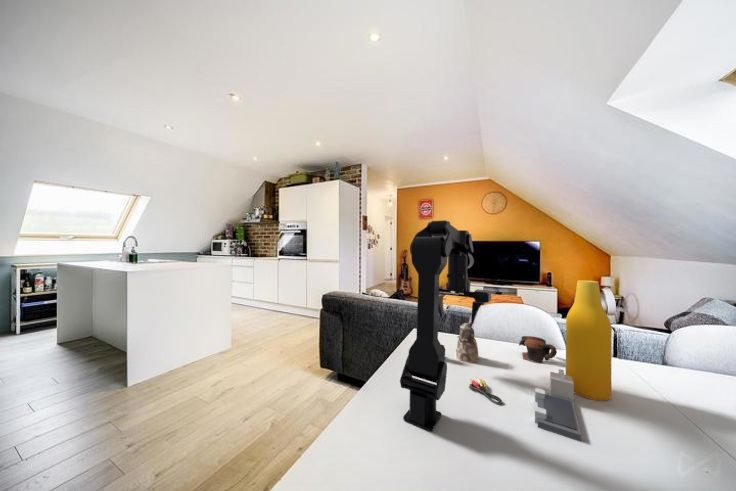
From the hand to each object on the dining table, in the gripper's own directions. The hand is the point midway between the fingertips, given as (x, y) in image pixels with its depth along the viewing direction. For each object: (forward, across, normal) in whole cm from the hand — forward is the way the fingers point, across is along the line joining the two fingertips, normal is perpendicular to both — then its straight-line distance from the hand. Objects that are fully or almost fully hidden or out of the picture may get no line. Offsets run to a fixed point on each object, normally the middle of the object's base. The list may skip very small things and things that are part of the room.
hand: (456, 320), depth 79 cm
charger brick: (+15, -26, +1) cm, 30 cm away
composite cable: (+15, -10, +10) cm, 21 cm away
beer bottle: (+15, -32, -7) cm, 36 cm away
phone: (+15, -24, +10) cm, 30 cm away
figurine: (+15, -1, -10) cm, 18 cm away
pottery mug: (+15, -21, -24) cm, 35 cm away
